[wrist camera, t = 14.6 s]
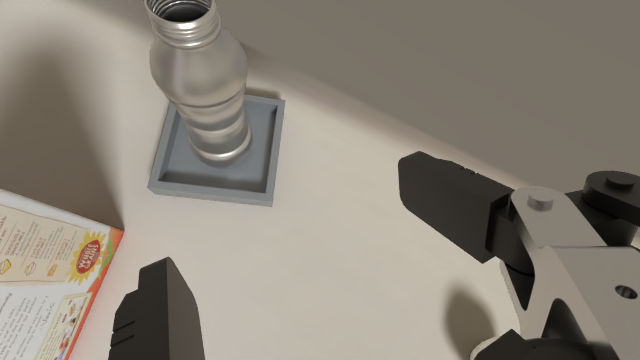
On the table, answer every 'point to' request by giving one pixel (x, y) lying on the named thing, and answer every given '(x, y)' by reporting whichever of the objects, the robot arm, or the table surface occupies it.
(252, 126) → the bottle tray
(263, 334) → the table surface
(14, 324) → the cracker box
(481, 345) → the white rounded piece
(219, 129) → the plastic bottle
